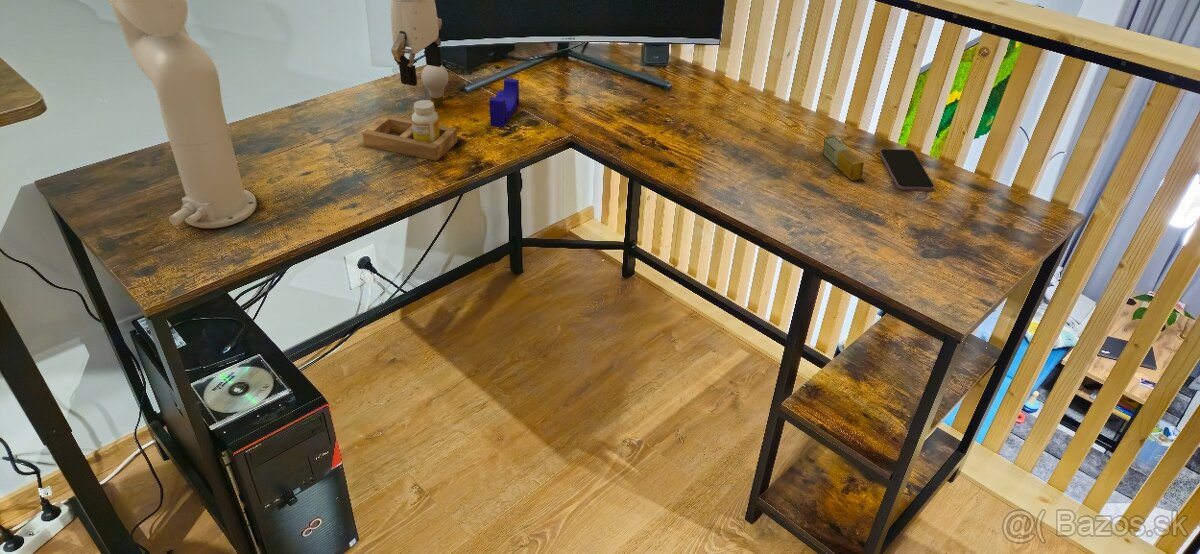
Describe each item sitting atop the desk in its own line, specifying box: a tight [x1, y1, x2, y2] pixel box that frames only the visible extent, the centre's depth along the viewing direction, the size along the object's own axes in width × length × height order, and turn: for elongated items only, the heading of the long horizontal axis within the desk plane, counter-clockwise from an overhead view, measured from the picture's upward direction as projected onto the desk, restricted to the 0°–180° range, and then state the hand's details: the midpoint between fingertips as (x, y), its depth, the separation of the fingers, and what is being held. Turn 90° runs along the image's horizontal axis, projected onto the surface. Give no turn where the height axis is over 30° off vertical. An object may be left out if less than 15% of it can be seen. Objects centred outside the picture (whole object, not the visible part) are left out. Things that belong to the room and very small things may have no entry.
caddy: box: [362, 114, 459, 162], centre depth 174 cm, size 9×17×3 cm, turn 71°
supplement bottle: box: [411, 99, 440, 143], centre depth 171 cm, size 5×5×10 cm
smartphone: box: [879, 148, 935, 192], centre depth 172 cm, size 7×1×15 cm
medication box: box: [822, 135, 865, 182], centre depth 172 cm, size 12×3×4 cm, turn 16°
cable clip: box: [488, 77, 520, 128], centre depth 186 cm, size 12×4×6 cm, turn 168°
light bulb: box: [420, 64, 449, 108], centre depth 187 cm, size 6×6×10 cm
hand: (422, 74), depth 165 cm, fingers open, 9 cm apart
